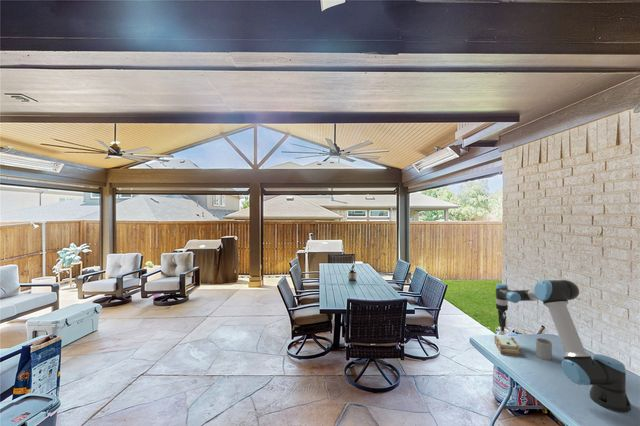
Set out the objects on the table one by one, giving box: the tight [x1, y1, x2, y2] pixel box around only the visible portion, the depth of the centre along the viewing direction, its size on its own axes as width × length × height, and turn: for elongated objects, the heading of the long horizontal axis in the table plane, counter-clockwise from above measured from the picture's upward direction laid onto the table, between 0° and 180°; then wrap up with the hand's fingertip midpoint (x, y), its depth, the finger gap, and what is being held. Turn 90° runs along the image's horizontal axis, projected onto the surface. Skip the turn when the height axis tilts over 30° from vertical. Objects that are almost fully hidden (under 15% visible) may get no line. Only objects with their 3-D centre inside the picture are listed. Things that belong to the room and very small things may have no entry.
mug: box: [535, 337, 553, 361], centre depth 193 cm, size 12×8×11 cm
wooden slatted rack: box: [494, 335, 522, 357], centre depth 202 cm, size 16×12×6 cm
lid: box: [497, 336, 517, 349], centre depth 203 cm, size 12×9×3 cm
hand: (502, 334), depth 213 cm, fingers closed
